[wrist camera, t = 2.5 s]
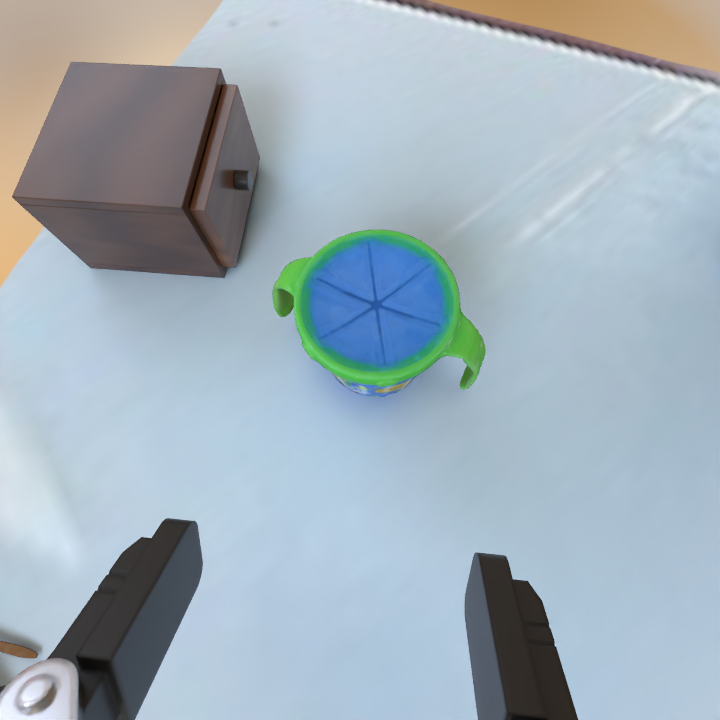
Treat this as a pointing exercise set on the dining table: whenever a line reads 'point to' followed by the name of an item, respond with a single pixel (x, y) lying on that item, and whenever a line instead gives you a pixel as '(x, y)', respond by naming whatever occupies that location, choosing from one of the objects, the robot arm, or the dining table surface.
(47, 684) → the robot arm
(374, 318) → the snack cup
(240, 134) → the drawer
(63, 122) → the cabinet
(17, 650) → the place setting
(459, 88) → the dining table surface
